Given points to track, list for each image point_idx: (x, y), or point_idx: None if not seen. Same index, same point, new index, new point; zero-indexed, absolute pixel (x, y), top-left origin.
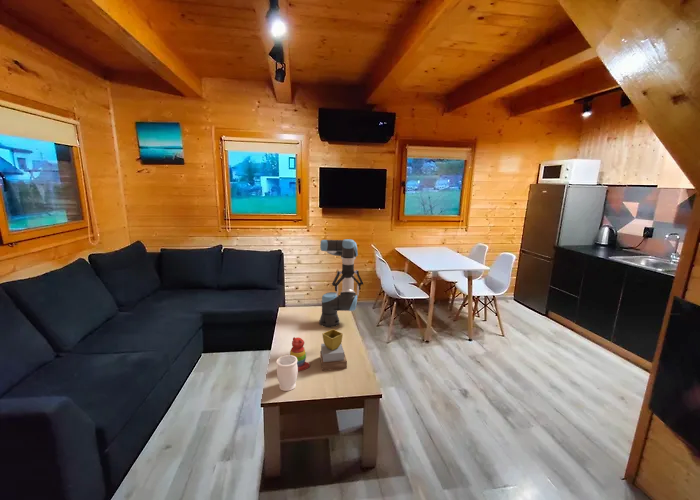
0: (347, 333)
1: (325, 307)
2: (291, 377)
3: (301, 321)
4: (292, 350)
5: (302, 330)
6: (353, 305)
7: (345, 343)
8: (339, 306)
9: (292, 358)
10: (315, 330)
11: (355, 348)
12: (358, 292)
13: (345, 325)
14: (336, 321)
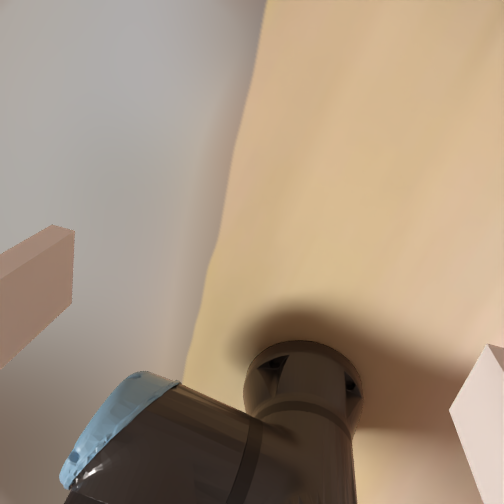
0: (257, 238)
1: (345, 468)
2: None
3: (440, 464)
4: None
5: None
6: (139, 391)
7: (326, 124)
8: (246, 430)
9: None
10: (420, 347)
11: (294, 29)
12: (16, 252)
13: (228, 327)
14: (272, 368)
